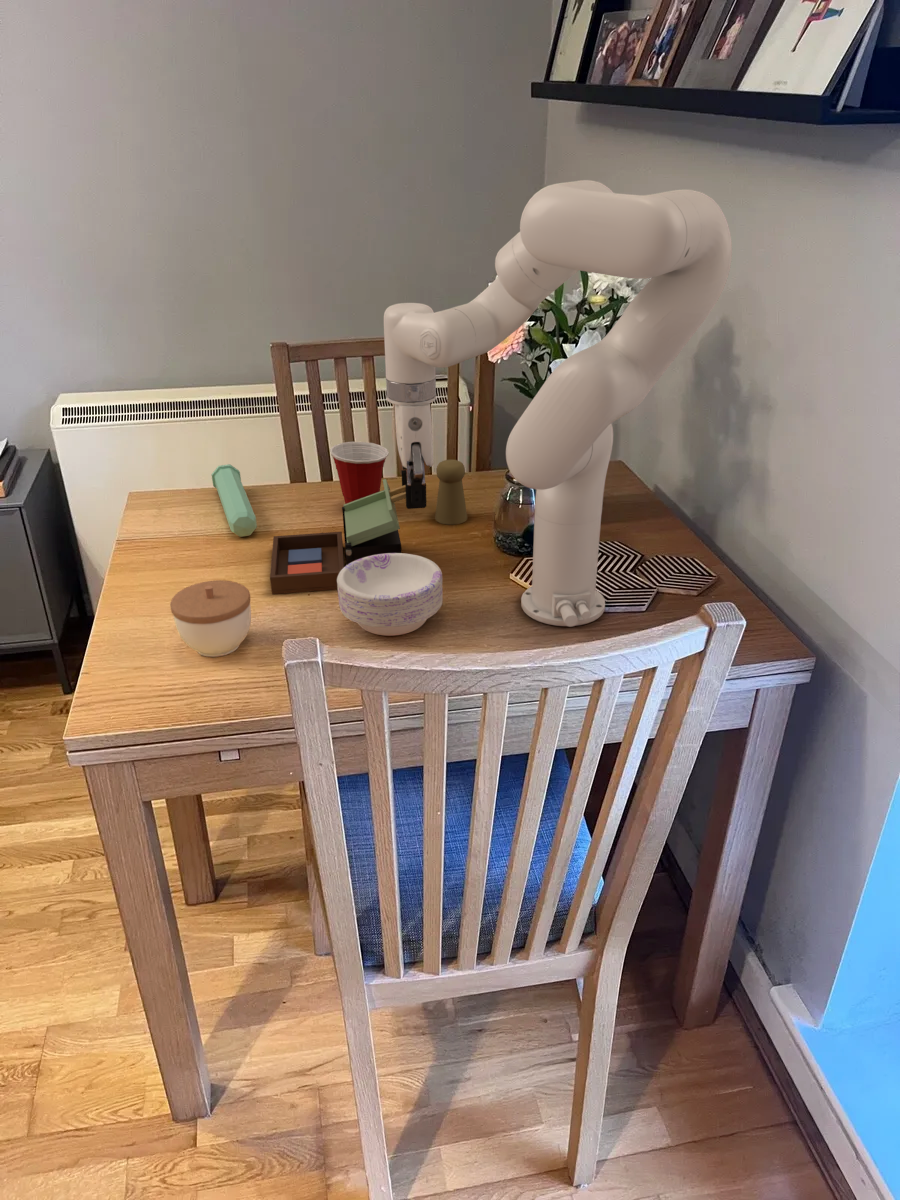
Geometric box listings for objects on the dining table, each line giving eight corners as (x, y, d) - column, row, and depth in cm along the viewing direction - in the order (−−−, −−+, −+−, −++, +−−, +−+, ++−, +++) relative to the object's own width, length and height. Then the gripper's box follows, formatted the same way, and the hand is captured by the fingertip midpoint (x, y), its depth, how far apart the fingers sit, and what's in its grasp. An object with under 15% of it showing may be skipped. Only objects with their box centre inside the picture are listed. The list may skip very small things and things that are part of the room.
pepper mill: (468, 512, 164) (468, 456, 159) (466, 525, 159) (465, 468, 154) (436, 511, 165) (435, 455, 160) (433, 524, 160) (431, 467, 154)
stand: (404, 586, 138) (402, 543, 135) (348, 590, 137) (345, 547, 134) (395, 541, 153) (393, 501, 150) (345, 544, 152) (341, 504, 149)
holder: (346, 588, 138) (344, 571, 137) (272, 594, 137) (269, 577, 135) (342, 547, 152) (341, 531, 150) (275, 551, 150) (273, 536, 149)
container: (251, 506, 152) (231, 458, 173) (221, 522, 152) (205, 472, 172) (267, 532, 156) (246, 482, 176) (238, 548, 155) (220, 496, 176)
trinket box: (259, 623, 129) (251, 567, 124) (253, 663, 120) (244, 603, 115) (185, 629, 128) (174, 572, 123) (173, 669, 118) (161, 609, 114)
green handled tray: (433, 516, 136) (426, 496, 134) (348, 547, 136) (339, 527, 134) (424, 486, 147) (417, 466, 145) (345, 514, 148) (337, 495, 146)
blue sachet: (288, 561, 144) (288, 566, 144) (321, 559, 144) (322, 563, 145) (288, 549, 148) (289, 554, 148) (321, 547, 148) (321, 551, 149)
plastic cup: (389, 520, 161) (386, 458, 156) (331, 520, 162) (326, 459, 156) (393, 498, 171) (390, 439, 165) (338, 498, 171) (333, 439, 165)
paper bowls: (379, 587, 138) (376, 542, 134) (461, 610, 131) (461, 563, 128) (319, 630, 127) (314, 582, 123) (406, 658, 120) (404, 608, 116)
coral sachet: (287, 577, 139) (287, 582, 139) (322, 575, 139) (322, 579, 140) (287, 565, 143) (288, 569, 143) (321, 562, 143) (322, 566, 144)
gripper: (443, 404, 125) (444, 520, 134) (428, 373, 140) (430, 479, 149) (391, 407, 124) (396, 523, 133) (381, 375, 139) (386, 482, 148)
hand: (414, 499), depth 141 cm, fingers closed on green handled tray, 5 cm apart
